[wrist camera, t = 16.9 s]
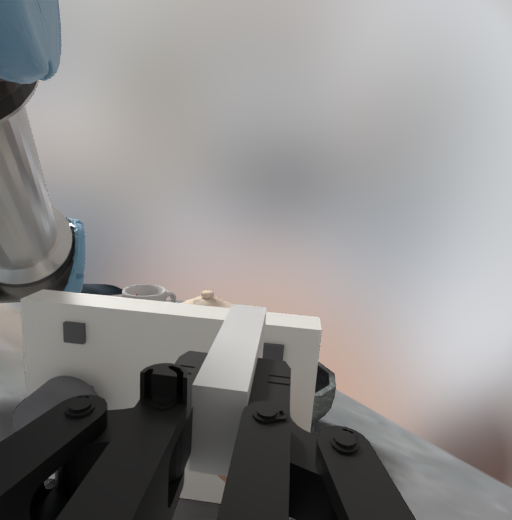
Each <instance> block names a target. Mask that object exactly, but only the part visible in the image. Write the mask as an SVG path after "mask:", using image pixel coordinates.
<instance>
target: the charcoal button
mask: <svg viewBox="0 0 512 520" xmlns="http://www.w3.org/2000/svg"><path fill="white" fill-rule="evenodd" d="M89 394H90V395H96V396H98V395H97V393H96V392H95V390H94V386H91V385H89V384H87V383H86V382H84V381H83V380H81V379H78V378H76V377H72V376H57V377H54V378H52V379H50V380H48V381H47V382H46V383H44V384H43V385H42V386H41V387H39V388H38V389H37V390H36V391H34V392H33V393H32V394H31V395H29V396H28V397H27V398H25V399H24V400H23V401H22V402H21V403H20V404H19V405H18V406H17V407H16V409H15V411H14V414H13V419H12V425H13V430H14V433H15V432H17V431H18V430H20V429H21V428H23V427H24V426H26V425H27V424H29V423H30V422H32V421H33V420H35V419H36V418H38V417H39V416H41V415H42V414H44V413H45V412H47V411H48V410H50V409H51V408H53V407H54V406H56V405H57V404H59V403H60V402H62V401H64V400H66V399H68V398H71V397H75V396H78V395H89Z"/></svg>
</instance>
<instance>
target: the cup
mask: <svg viewBox="0 0 512 520" xmlns="http://www.w3.org/2000/svg"><path fill="white" fill-rule="evenodd" d="M122 296H123V297H124V298H134V299H144V300H154V301H163V302H165V300H166V298H167V297H168V296H170V297H171V302H173V303H176V296H175V294H174V293H173V292H171V291H166V289H165V288H164V287H162V286H158V285H152V284H139V285H132V286H129V287H126V288H124V289H123V291H122Z"/></svg>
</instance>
